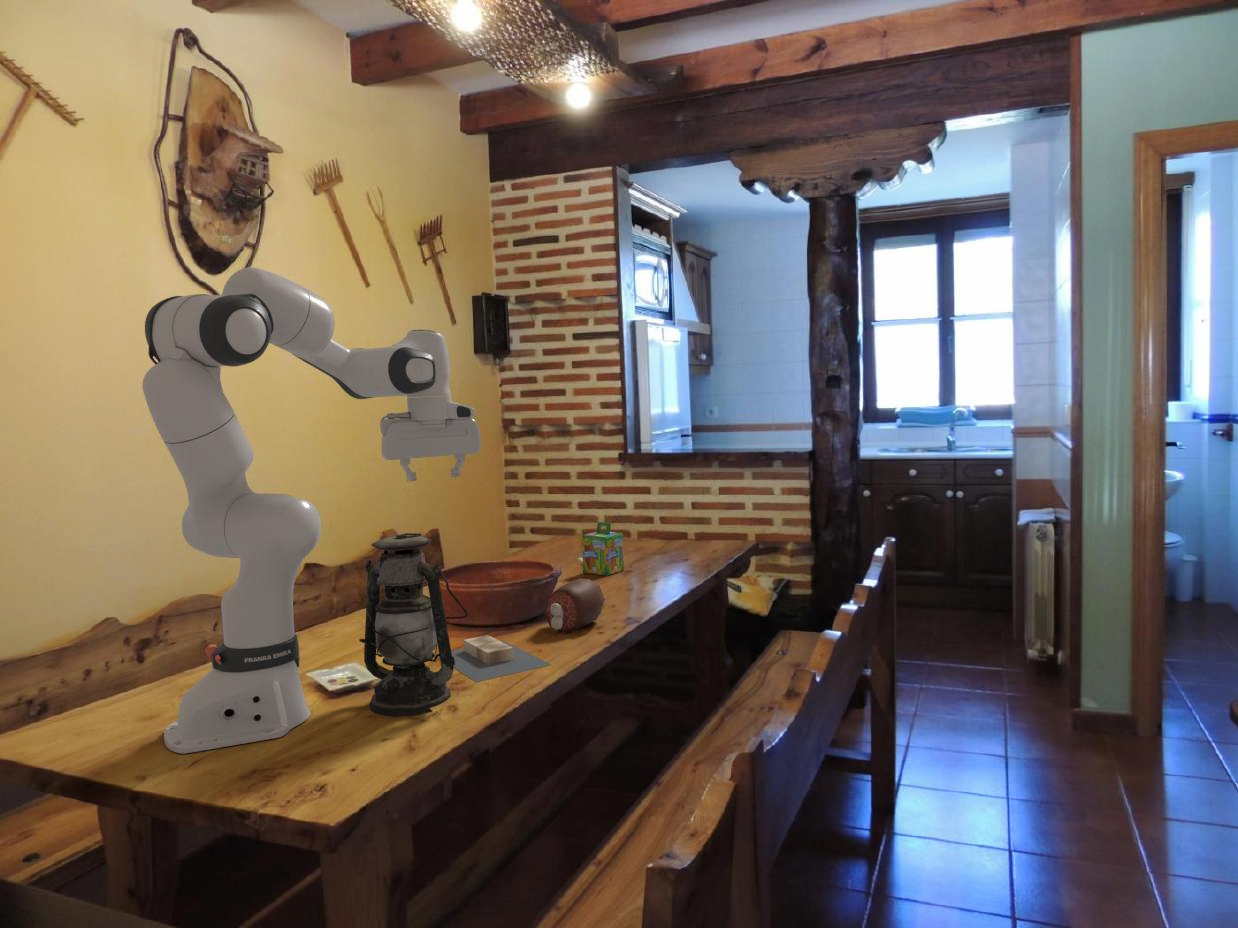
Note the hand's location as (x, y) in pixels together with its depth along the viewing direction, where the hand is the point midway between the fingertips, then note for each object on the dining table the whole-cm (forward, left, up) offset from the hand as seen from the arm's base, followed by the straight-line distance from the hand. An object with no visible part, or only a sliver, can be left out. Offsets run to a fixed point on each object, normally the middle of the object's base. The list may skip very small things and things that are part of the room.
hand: (434, 479), depth 179 cm
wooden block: (+7, -13, -35) cm, 38 cm away
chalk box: (+70, +49, -37) cm, 93 cm away
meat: (+33, +2, -37) cm, 50 cm away
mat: (+6, -10, -37) cm, 39 cm away
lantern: (-13, -20, -37) cm, 44 cm away
